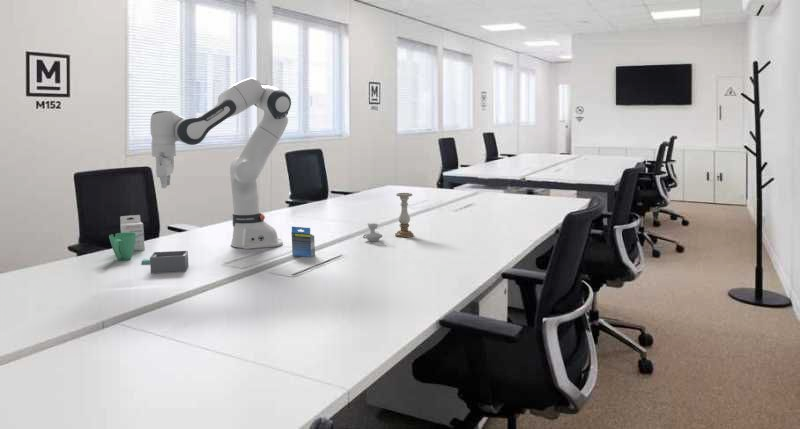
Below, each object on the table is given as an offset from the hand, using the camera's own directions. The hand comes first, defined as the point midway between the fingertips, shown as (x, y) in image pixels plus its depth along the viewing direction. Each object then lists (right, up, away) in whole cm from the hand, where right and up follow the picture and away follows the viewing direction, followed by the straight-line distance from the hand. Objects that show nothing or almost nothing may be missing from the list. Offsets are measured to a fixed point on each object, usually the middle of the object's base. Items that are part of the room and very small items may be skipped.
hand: (165, 186), depth 247 cm
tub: (+8, -32, -17) cm, 37 cm away
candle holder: (+95, -21, +51) cm, 110 cm away
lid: (+2, -31, -5) cm, 31 cm away
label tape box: (+53, -28, +9) cm, 61 cm away
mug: (-17, -30, +1) cm, 34 cm away
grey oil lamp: (+81, -24, +39) cm, 92 cm away
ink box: (-21, -27, +20) cm, 40 cm away
